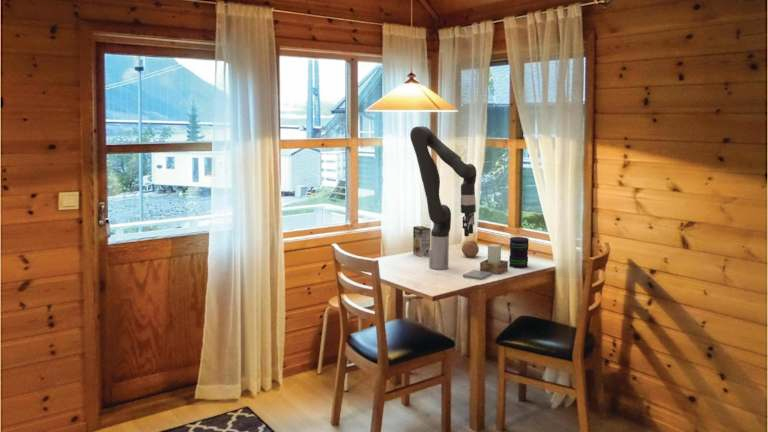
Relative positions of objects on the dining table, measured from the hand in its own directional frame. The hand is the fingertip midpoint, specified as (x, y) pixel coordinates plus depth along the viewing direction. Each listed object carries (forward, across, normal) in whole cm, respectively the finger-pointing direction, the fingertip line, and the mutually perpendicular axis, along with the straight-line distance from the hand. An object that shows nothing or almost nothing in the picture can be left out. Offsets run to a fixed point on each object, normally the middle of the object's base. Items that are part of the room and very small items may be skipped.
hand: (468, 234), depth 338 cm
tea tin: (+20, -5, +11) cm, 23 cm away
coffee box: (+18, -28, -36) cm, 49 cm away
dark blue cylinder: (+20, -22, +21) cm, 36 cm away
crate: (+20, -5, +11) cm, 23 cm away
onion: (+19, -35, -9) cm, 41 cm away
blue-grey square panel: (+19, +8, +6) cm, 22 cm away
